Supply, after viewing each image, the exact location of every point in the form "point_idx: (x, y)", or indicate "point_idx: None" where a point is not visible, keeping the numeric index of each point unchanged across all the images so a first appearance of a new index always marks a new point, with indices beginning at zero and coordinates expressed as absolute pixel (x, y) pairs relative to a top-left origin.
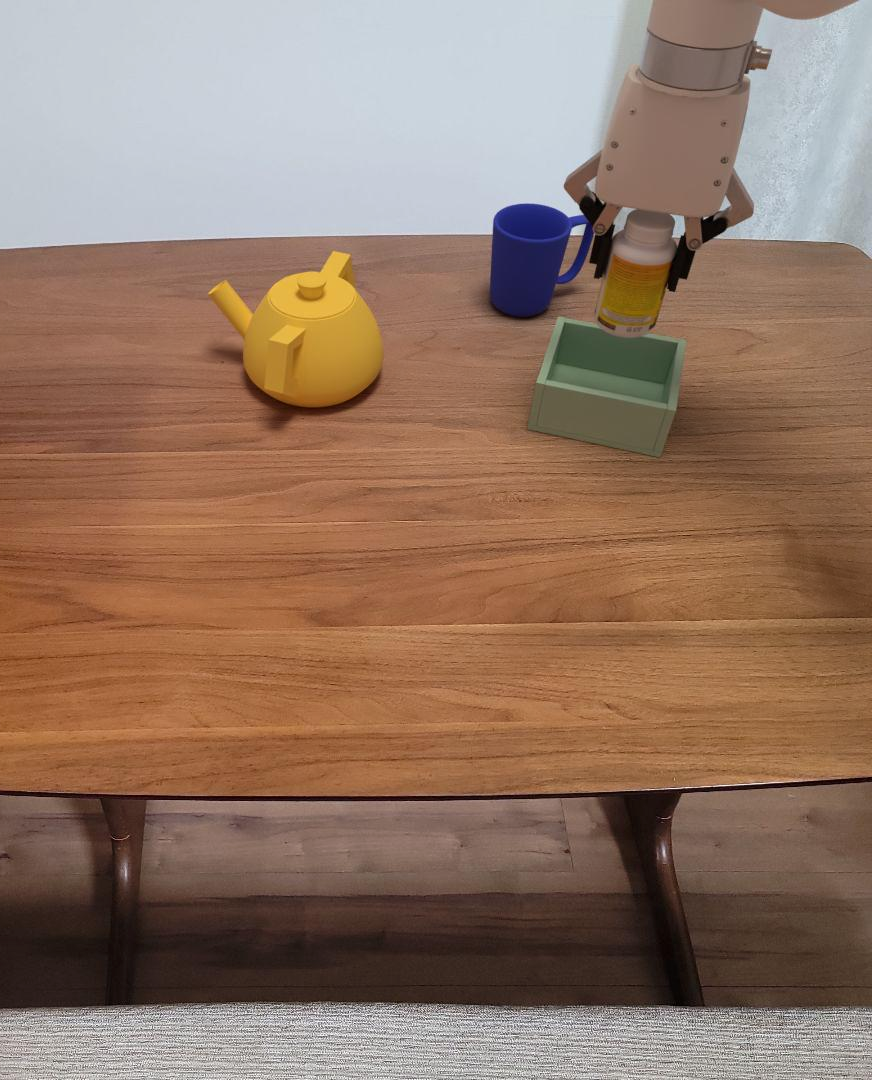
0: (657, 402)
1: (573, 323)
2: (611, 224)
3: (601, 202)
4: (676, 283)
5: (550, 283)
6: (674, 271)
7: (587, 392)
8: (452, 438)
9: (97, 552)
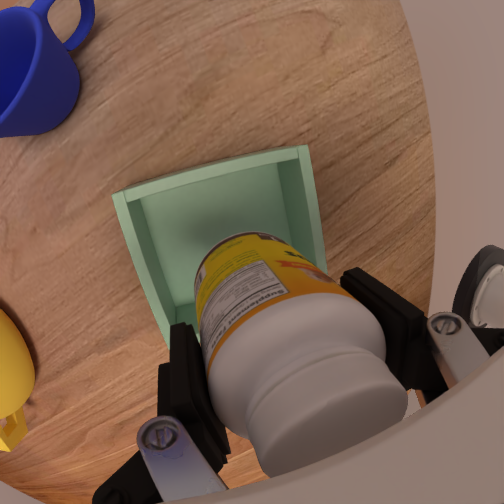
0: None
1: (140, 198)
2: (215, 460)
3: (156, 493)
4: None
5: (64, 89)
6: None
7: None
8: (122, 359)
9: (71, 481)
